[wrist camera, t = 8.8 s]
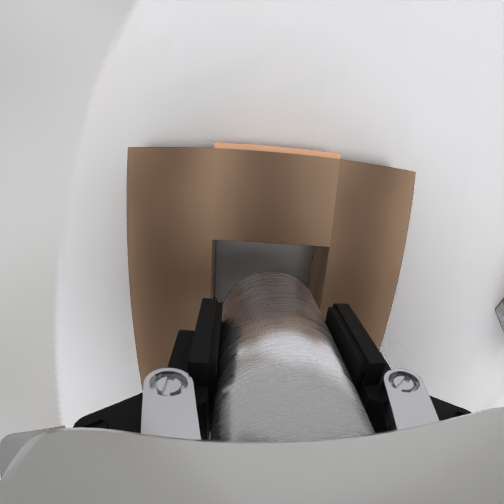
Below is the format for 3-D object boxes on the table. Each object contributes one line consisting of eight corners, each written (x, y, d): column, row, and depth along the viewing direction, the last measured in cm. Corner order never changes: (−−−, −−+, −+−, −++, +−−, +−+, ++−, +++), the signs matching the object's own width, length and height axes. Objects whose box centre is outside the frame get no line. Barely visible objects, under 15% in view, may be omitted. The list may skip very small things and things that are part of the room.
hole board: (391, 163, 17) (416, 166, 14) (351, 369, 21) (363, 396, 18) (146, 143, 16) (128, 141, 13) (153, 362, 20) (142, 390, 17)
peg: (322, 273, 13) (425, 448, 4) (307, 353, 14) (360, 529, 5) (223, 268, 13) (200, 467, 4) (220, 351, 14) (207, 540, 5)
